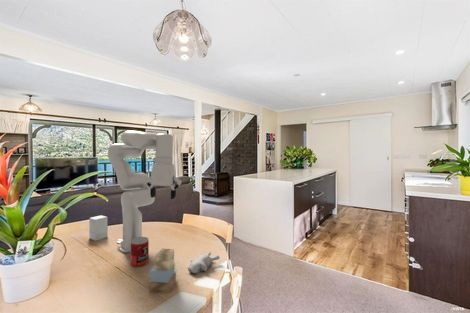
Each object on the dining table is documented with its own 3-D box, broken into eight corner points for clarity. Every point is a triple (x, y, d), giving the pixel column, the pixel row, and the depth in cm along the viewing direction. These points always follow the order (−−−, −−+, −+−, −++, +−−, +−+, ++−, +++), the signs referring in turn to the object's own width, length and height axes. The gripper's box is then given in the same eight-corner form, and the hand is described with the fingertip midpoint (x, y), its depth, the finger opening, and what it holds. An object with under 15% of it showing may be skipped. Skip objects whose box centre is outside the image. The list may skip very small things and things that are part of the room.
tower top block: (149, 281, 85) (149, 271, 85) (157, 272, 92) (157, 262, 92) (168, 282, 84) (168, 272, 84) (174, 272, 91) (174, 263, 91)
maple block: (156, 269, 86) (156, 253, 86) (162, 263, 91) (162, 248, 91) (168, 270, 85) (168, 254, 85) (174, 264, 90) (174, 249, 90)
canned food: (137, 268, 101) (137, 244, 101) (127, 263, 106) (127, 240, 106) (152, 261, 108) (152, 238, 108) (141, 257, 112) (141, 235, 112)
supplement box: (108, 237, 139) (108, 216, 139) (95, 241, 133) (95, 219, 133) (101, 234, 143) (101, 214, 143) (88, 238, 137) (89, 217, 137)
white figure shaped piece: (183, 262, 100) (206, 247, 112) (184, 273, 100) (207, 256, 112) (198, 268, 94) (221, 252, 106) (199, 280, 94) (222, 262, 106)
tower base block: (149, 293, 84) (149, 282, 84) (155, 281, 92) (155, 271, 92) (171, 293, 84) (171, 282, 84) (175, 281, 92) (175, 271, 92)
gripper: (141, 160, 101) (141, 198, 102) (178, 162, 99) (177, 200, 99) (150, 159, 109) (149, 194, 109) (184, 161, 106) (183, 197, 107)
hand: (162, 197), depth 104 cm, fingers open, 9 cm apart
